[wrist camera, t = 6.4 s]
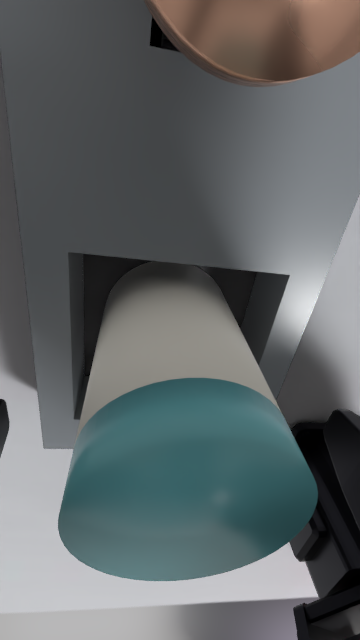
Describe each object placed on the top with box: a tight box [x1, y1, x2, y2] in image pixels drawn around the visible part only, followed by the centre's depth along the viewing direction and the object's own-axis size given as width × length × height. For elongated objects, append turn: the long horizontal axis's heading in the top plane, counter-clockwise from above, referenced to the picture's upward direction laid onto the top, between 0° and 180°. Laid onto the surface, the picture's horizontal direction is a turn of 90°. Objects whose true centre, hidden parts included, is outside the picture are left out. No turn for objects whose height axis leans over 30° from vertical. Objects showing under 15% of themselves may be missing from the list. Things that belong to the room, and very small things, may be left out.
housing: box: [0, 0, 360, 449], centre depth 10 cm, size 9×18×2 cm, turn 172°
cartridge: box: [58, 261, 318, 581], centre depth 10 cm, size 5×5×8 cm
